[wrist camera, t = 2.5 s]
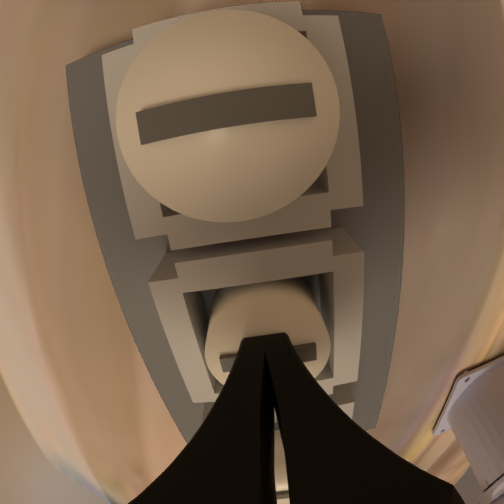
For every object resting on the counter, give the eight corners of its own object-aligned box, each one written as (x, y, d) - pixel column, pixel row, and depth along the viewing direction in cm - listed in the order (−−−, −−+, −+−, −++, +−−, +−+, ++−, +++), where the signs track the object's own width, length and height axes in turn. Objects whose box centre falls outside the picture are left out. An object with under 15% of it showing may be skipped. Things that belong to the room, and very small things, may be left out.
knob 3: (325, 421, 11) (337, 471, 9) (323, 460, 13) (331, 501, 10) (234, 433, 12) (234, 484, 9) (248, 470, 13) (249, 511, 11)
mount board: (366, 25, 9) (409, -7, 6) (369, 410, 17) (385, 455, 14) (84, 71, 10) (29, 56, 6) (194, 433, 18) (188, 481, 14)
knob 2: (312, 258, 11) (331, 296, 8) (317, 344, 12) (331, 390, 10) (201, 274, 11) (189, 316, 8) (222, 357, 12) (219, 405, 10)
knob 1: (297, 38, 6) (322, -2, 4) (319, 184, 8) (352, 209, 5) (144, 64, 6) (100, 38, 4) (169, 206, 8) (136, 241, 5)
